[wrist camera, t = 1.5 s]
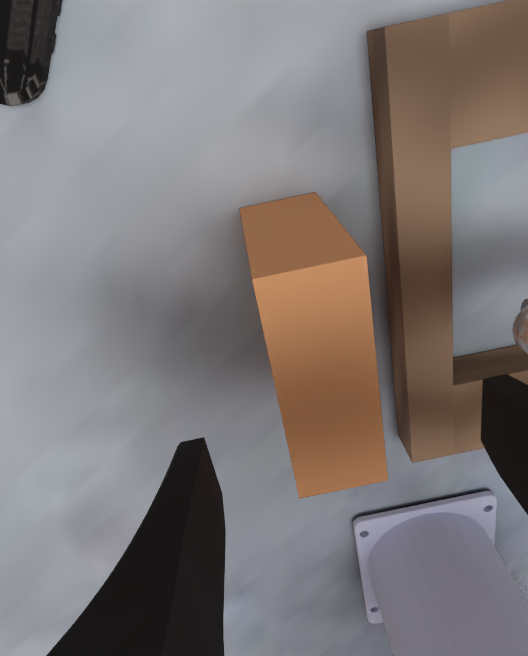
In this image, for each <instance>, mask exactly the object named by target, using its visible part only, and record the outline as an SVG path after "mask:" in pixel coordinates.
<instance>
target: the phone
mask: <svg viewBox="0 0 528 656" xmlns="http://www.w3.org/2000/svg"><path fill="white" fill-rule="evenodd" d="M61 1H62V0H0V104H3V105H8V106H13V105H20V104H25V103H29V102H31V101H33V100H35V99H36V98H38V97H39V95H40V94H41V93H42V92H43V90H44V88H45V85H46V82H47V79H48V73H49V66H50V60H51V53H53V50H54V43H55V37H56V35H55V27H56V21H57V15H58V16H59V14H60V8H61Z"/></svg>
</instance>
